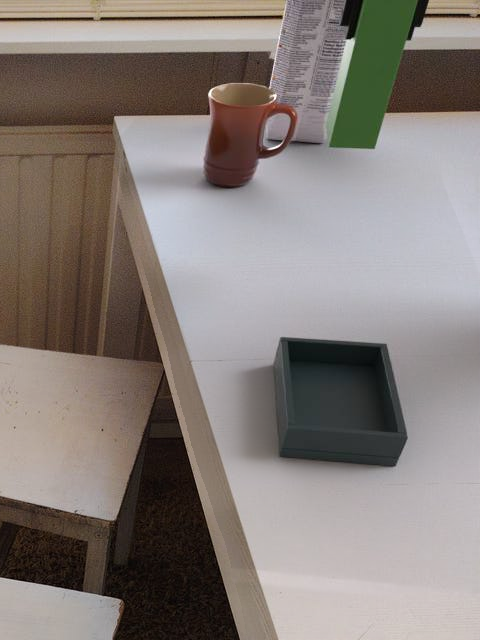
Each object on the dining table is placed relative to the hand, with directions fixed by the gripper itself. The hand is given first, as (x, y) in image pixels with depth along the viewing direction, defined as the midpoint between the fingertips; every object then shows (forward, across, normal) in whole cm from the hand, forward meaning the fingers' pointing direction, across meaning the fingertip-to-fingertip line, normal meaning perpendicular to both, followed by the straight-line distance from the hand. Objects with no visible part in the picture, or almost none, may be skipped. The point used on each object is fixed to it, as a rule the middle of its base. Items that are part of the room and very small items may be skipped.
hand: (377, 33), depth 78 cm
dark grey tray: (+24, -1, +26) cm, 36 cm away
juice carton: (+24, 0, -44) cm, 51 cm away
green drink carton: (+9, 0, 0) cm, 9 cm away
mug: (+24, +9, -26) cm, 37 cm away
